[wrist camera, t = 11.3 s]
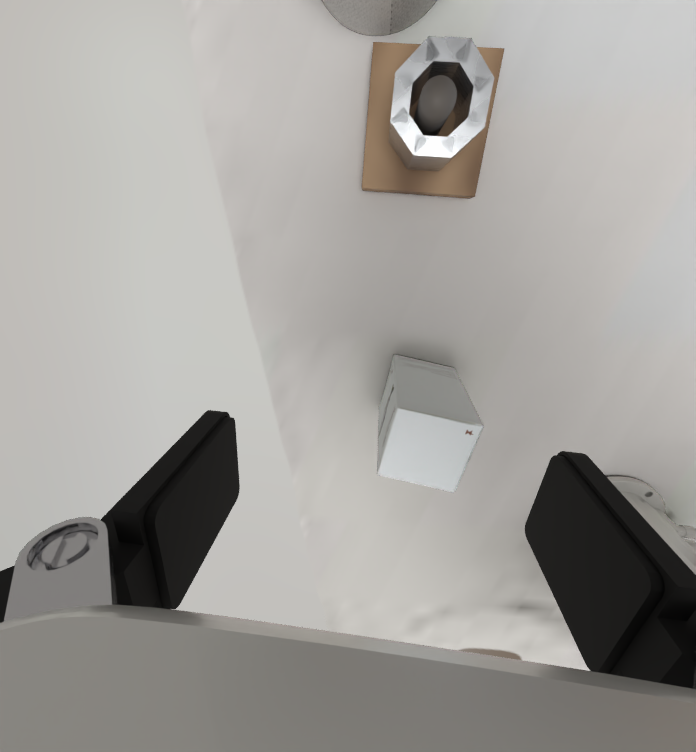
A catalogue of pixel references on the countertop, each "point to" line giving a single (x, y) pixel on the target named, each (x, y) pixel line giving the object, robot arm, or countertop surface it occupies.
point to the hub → (470, 109)
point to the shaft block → (431, 119)
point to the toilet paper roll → (378, 14)
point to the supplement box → (425, 425)
